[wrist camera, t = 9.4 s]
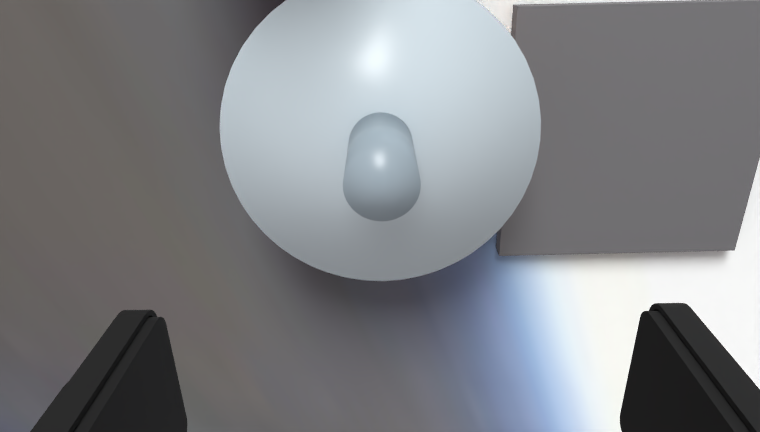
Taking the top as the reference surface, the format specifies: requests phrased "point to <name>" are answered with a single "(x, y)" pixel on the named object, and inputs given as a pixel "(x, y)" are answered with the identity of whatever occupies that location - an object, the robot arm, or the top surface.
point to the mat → (639, 126)
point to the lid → (380, 132)
